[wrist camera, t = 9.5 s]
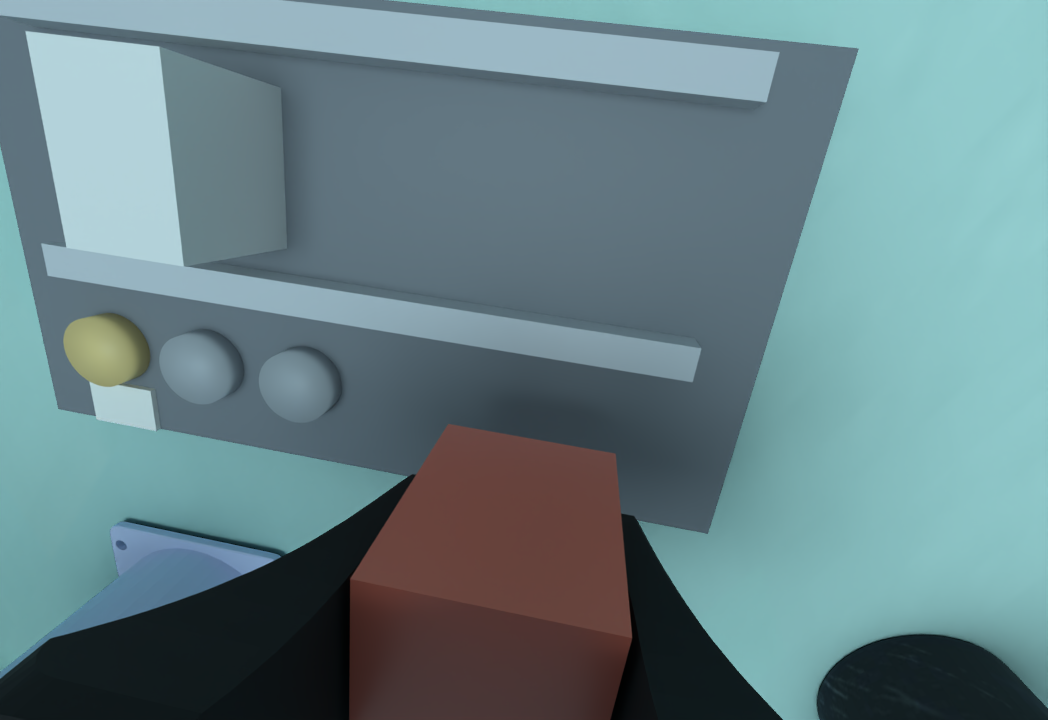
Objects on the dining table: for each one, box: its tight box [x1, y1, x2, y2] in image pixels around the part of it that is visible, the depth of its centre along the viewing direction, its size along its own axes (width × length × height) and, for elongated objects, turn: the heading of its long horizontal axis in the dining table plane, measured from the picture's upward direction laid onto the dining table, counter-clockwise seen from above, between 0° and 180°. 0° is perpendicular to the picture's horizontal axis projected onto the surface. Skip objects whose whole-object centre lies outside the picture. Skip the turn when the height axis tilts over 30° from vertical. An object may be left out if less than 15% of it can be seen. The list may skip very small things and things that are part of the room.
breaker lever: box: [25, 31, 287, 266], centre depth 12 cm, size 4×3×4 cm
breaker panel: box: [0, 0, 858, 534], centre depth 15 cm, size 14×24×2 cm, turn 83°
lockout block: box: [349, 424, 632, 720], centre depth 10 cm, size 4×4×5 cm
